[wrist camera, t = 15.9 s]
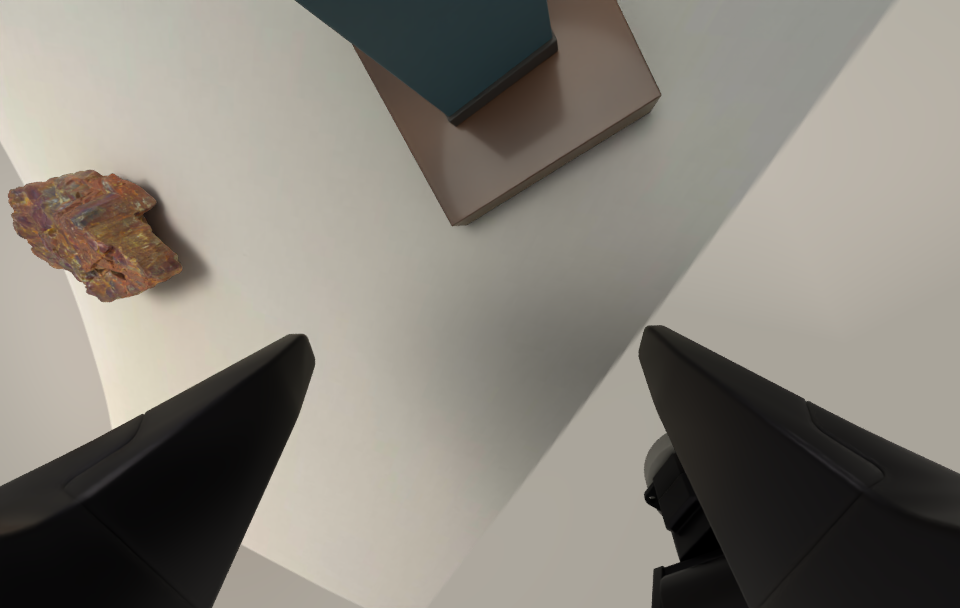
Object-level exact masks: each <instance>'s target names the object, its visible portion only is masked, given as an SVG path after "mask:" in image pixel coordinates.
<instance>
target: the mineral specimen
mask: <svg viewBox="0 0 960 608" xmlns="http://www.w3.org/2000/svg"><path fill="white" fill-rule="evenodd" d="M8 198H9V204H10V205H11V207H12V208H13V209H14V213H12V214H11V216H12V218H13V221H14V222H13V226H14V229H15V231H16V232H17V234H18V235H19V236H20V237H22V238H24V239H27V241H28V243H29V244H30V245H31V246H32V247H33V248H31V250H32V252H33V253H34V254H35V255H36V256H37V257H39V258H41V259H43V260H45V261H46V262H48V263H49V265H50V266H52V267H53V268H56V269H65V270H68V271H70V272H72V274H73V275H74V277H75V278H76V279H77V280H78V281H79V282H83V283H84V284H85V285H86V286H85V287H86V288H87V291H86V293H88V294H90V295H93V296H96V297H97V298H98V299H99V300H100V301H101V302H112V301H114V300H116V299H120V298H125V297H130V296H134V295H138V294H140V293H142V292H143V291H145V290H147V289H148V288H152V287H154V286H155V285H157V284H158V283H160V282H164V281H167V280H168V279H170V278H171V277H172V276H174V275H175V274H179V273H180V272H181V271H182V268H183V267H182V265H181V263H180V262H179V261H178V255H177V254H176V253H174V252H173V251H172V250H171V249H170V248H169V247H168V246H166V245H165V244H164V243H163V242H162V241H161V240H160V239H159V238H158V237H157V236H155V235H154V233H152V232H151V231H152V229H151V226H150V225H148V224H147V222H146V221H147V220H146V219H145V218H144V216H143V215H144V214H143V213H145V212H147V211H148V210H150V209H152V208H153V207H154V206H155V205H156V204H157V201H156V200H155V199H154V198H153V197H152V196H151V195H149V194H148V193H147V192H146V191H145V190H143V189H142V188H141V187H140V186H138V185H136V184H135V183H132V182H130V181H128V180H123V179H121V178H120V177H118V176H116V175H115V174H111V175H109V176H102V175H100V174H99V173H98V172H96V171H94V170H87V171H79V172H76V173H75V174H73V173H70V174H66V175H62V176H61V177H54V178H50V179H49V180H47V181H46V182H34V183H29V184H26V185H25V186H24V187H18V188H16V189H11V190H10V191H9V194H8Z"/></svg>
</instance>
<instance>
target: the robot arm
mask: <svg viewBox="0 0 960 608" xmlns="http://www.w3.org/2000/svg"><path fill="white" fill-rule="evenodd" d="M639 360H640V363H641V366H642V369H643V372H644V375H645V378H646V381H647V384H648V387H649V390H650V393H651V396H652V399H653V402H654V405H655V407H656V410H657V412H658V414H659V416H660V419H661V421H662V423H663V425H664V428H665V429H666V432H667V434H668V436H669V438H670V440H671V442H672V445H673V447H674V449H675V451H676V452H675V453H672V454H671V456H670V457H669V458H668V460H667V461H666V462H665V463H664V465H663V466H662V467H661V468H660V470H659V471H658V472H657V473H656V475H655V476H654V477H653V482H652V483H651V485H650V486H649V487H648V488H647V490H646V491H645V492H644V498H645V501H646V503H647V504H648V505H650V506H652V507H654V508H656V509H657V510H659V511H661V512H662V516H663V519H664V522H665V526H666V528H667V530H669V531H671V532H672V536H673V539H674V543H675V546H676V550H677V553H678V556H679V560H680V562H679V563H676V564H674V565H671V566H668V567H664V566H661V567H658V568H655V569H654V573H653V591H652V608H960V474H959V473H957V472H955V471H952V470H950V469H948V468H946V467H944V466H942V465H940V464H937V463H935V462H933V461H931V460H929V459H926V458H925V457H922V456H920V455H918V454H916V453H914V452H912V451H909V450H907V449H905V448H903V447H901V446H899V445H896V444H894V443H892V442H890V441H888V440H886V439H884V438H882V437H880V436H878V435H875V434H873V433H871V432H869V431H867V430H865V429H863V428H861V427H858V426H856V425H855V424H853V423H850V422H849V421H847V420H845V419H843V418H841V417H839V416H837V415H835V414H833V413H831V412H829V411H827V410H825V409H823V408H821V407H819V406H817V405H815V404H813V403H811V402H810V401H807V402H806V401H805V399H804V398H802V397H800V396H798V395H796V394H794V393H792V392H790V391H788V390H786V389H784V388H782V387H781V386H779V385H777V384H775V383H773V382H771V381H769V380H767V379H765V378H763V377H761V376H759V375H757V374H755V373H754V372H752V371H750V370H747V369H746V368H744V367H742V366H740V365H738V364H736V363H734V362H732V361H730V360H728V359H727V358H725V357H723V356H721V355H719V354H717V353H715V352H713V351H711V350H709V349H707V348H705V347H703V346H701V345H700V344H698V343H696V342H694V341H692V340H690V339H688V338H686V337H684V336H682V335H680V334H678V333H677V332H675V331H672V330H671V329H669V328H667V327H665V326H662V325H657V326H647V327H646V328H645V329H644V332H643V336H642V340H641V344H640V348H639ZM314 367H315V357H314V354H313V351H312V348H311V345H310V343H309V340H308V337H307V336H306V335H304V334H289V335H286V336H285V337H283V338H281V339H279V340H277V341H275V342H274V343H272V344H270V345H268V346H266V347H264V348H263V349H261V350H259V351H257V352H255V353H253V354H252V355H250V356H248V357H246V358H244V359H242V360H241V361H239V362H237V363H235V364H233V365H231V366H230V367H228V368H226V369H224V370H222V371H220V372H218V373H217V374H215V375H213V376H211V377H209V378H207V379H206V380H204V381H202V382H200V383H198V384H196V385H195V386H193V387H191V388H189V389H187V390H185V391H184V392H182V393H180V394H178V395H176V396H174V397H173V398H171V399H169V400H167V401H165V402H163V403H162V404H160V405H158V406H156V407H154V408H152V409H150V410H149V411H147V412H146V413H145V415H144V414H141V415H139V416H137V417H136V418H134V419H132V420H130V421H128V422H126V423H125V424H123V425H121V426H119V427H117V428H115V429H113V430H111V431H110V432H108V433H106V434H104V435H102V436H100V437H98V438H96V439H94V440H93V441H91V442H89V443H87V444H85V445H83V446H81V447H79V448H77V449H75V450H73V451H71V452H69V453H67V454H65V455H63V456H61V457H59V458H57V459H55V460H53V461H51V462H49V463H47V464H45V465H43V466H41V467H39V468H36V469H34V470H33V471H30V472H29V473H26V474H24V475H22V476H20V477H18V478H16V479H14V480H12V481H10V482H8V483H6V484H4V485H2V486H0V608H212V606H213V604H214V602H215V600H216V597H217V595H218V593H219V591H220V589H221V587H222V584H223V582H224V580H225V578H226V575H227V573H228V571H229V569H230V567H231V564H232V562H233V560H234V558H235V556H236V553H237V551H238V549H239V547H240V545H241V542H242V540H243V538H244V536H245V533H246V531H247V529H248V527H249V525H250V522H251V520H252V518H253V516H254V514H255V511H256V509H257V507H258V505H259V503H260V500H261V498H262V496H263V494H264V491H265V489H266V487H267V485H268V483H269V480H270V478H271V476H272V474H273V472H274V469H275V467H276V465H277V463H278V461H279V458H280V456H281V454H282V452H283V449H284V447H285V445H286V443H287V441H288V438H289V436H290V434H291V432H292V430H293V427H294V425H295V423H296V420H297V418H298V416H299V413H300V410H301V407H302V404H303V401H304V398H305V395H306V392H307V389H308V386H309V383H310V380H311V376H312V373H313V370H314ZM650 497H655V498H653V499H651V498H650Z"/></svg>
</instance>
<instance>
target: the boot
mask: <svg viewBox="0 0 960 608" xmlns="http://www.w3.org/2000/svg"><path fill="white" fill-rule="evenodd" d="M295 1H296V2H298V3H299V4H300V5H302V6H303V7H304V8H306V9H307V10H308V11H309V12H311V13H312V14H313V15H315V16H316V17H317V18H319V19H320V20H321V21H323V22H324V23H325V24H327V25H328V26H329V27H331V28H332V29H333V30H335V31H336V32H337V33H339V34H340V35H341V36H343V37H344V38H345V39H346V40H348V41H349V42H350V43H352V44H353V45H354V46H356V47H357V48H358V49H360V50H361V51H362V52H364V53H365V54H366V55H368V56H369V57H370V58H372V59H373V60H374V61H376V62H377V63H378V64H380V65H381V66H382V67H384V68H385V69H386V70H387V71H389V72H390V73H391V74H393V75H394V76H395V77H397V78H398V79H399V80H401V81H402V82H403V83H405V84H406V85H407V86H409V87H410V88H411V89H413V90H414V91H415V92H417V93H418V94H419V95H421V96H422V97H423V98H425V99H426V100H427V101H428V102H430V103H431V104H432V105H434V106H435V107H436V108H438V109H439V110H440V111H442V112H443V113H444V114H445V116H446V118H447V120H448V121H449V122H450V123H451V124H453V125H454V126H455V127H456V126H458V125H459V124H460V123H462V122H463V121H464V120H466V119H467V118H468V117H470V116H471V115H472V114H474V113H475V112H476V111H478V110H479V109H480V108H482V107H483V106H484V105H486V104H487V103H488V102H490V101H491V100H492V99H494V98H495V97H496V96H498V95H499V94H500V93H502V92H503V91H505V90H506V89H507V88H509V87H510V86H511V85H513V84H514V83H515V82H517V81H518V80H519V79H521V78H522V77H523V76H525V75H526V74H527V73H529V72H530V71H531V70H533V69H534V68H535V67H537V66H538V65H539V64H541V63H542V62H543V61H545V60H546V59H547V58H549V57H550V56H551V55H553V54H554V53H555V52H557V51H558V44H557V38H556V36H555V34H554V33H553V31H552V29H551V24H550V17H549V11H548V5H547V0H295Z"/></svg>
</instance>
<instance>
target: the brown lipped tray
mask: <svg viewBox="0 0 960 608" xmlns="http://www.w3.org/2000/svg"><path fill="white" fill-rule="evenodd" d="M547 5H548V11H549V17H550V24H551V29H552V31H553V33H554V34H555V36H556V38H557V44H558V51H557V52H555V53H554V54H553V55H551V56H550V57H549V58H547V59H546V60H545V61H543V62H542V63H541V64H539V65H538V66H537V67H535V68H534V69H533V70H531V71H530V72H529V73H527V74H526V75H525V76H523V77H522V78H521V79H519V80H518V81H517V82H515V83H514V84H513V85H511V86H510V87H509V88H507V89H506V90H505V91H503V92H502V93H500V94H499V95H498V96H496V97H495V98H494V99H492V100H491V101H490V102H488V103H487V104H486V105H484V106H483V107H482V108H480V109H479V110H478V111H476V112H475V113H474V114H472V115H471V116H470V117H468V118H467V119H466V120H464V121H463V122H462V123H460V124H459V125H458V126H456V127H455V126H454V125H453V124H451V123H450V122H449V121H448V120H447V118H446V116H445V114H444V113H443V112H442V111H440V110H439V109H438V108H436V107H435V106H434V105H432V104H431V103H430V102H428V101H427V100H426V99H425V98H423V97H422V96H421V95H419V94H418V93H417V92H415V91H414V90H413V89H411V88H410V87H409V86H407V85H406V84H405V83H403V82H402V81H401V80H399V79H398V78H397V77H395V76H394V75H393V74H391V73H390V72H389V71H387V70H386V69H385V68H384V67H382V66H381V65H380V64H378V63H377V62H376V61H374V60H373V59H372V58H370V57H369V56H368V55H366V54H365V53H364V52H362V51H361V50H360V49H358V48H357V47H356V46H354V45H353V44H352V45H353V47H354V49H355V50H356V52H357V54H358V56H359V58H360V59H361V61H362V63H363V65H364V67H365V69H366V70H367V72H368V74H369V76H370V78H371V80H372V81H373V83H374V85H375V87H376V89H377V90H378V92H379V94H380V96H381V98H382V100H383V101H384V103H385V105H386V107H387V109H388V111H389V112H390V114H391V116H392V118H393V120H394V121H395V123H396V125H397V127H398V129H399V131H400V132H401V134H402V136H403V138H404V140H405V142H406V143H407V145H408V147H409V149H410V151H411V152H412V154H413V156H414V158H415V160H416V162H417V163H418V165H419V167H420V169H421V171H422V172H423V174H424V176H425V178H426V180H427V182H428V183H429V185H430V187H431V189H432V191H433V193H434V194H435V196H436V198H437V200H438V202H439V203H440V205H441V207H442V209H443V211H444V213H445V214H446V216H447V218H448V220H449V222H450V224H451V225H452V226H461V225H468V224H469V223H471V222H472V221H474V220H476V219H477V218H479V217H481V216H482V215H484V214H485V213H487V212H489V211H490V210H492V209H494V208H495V207H497V206H498V205H500V204H502V203H503V202H505V201H506V200H508V199H510V198H511V197H513V196H515V195H516V194H518V193H519V192H521V191H523V190H524V189H526V188H528V187H529V186H531V185H532V184H534V183H536V182H537V181H539V180H541V179H542V178H544V177H545V176H547V175H549V174H550V173H552V172H554V171H555V170H557V169H558V168H560V167H562V166H563V165H565V164H566V163H568V162H570V161H571V160H573V159H575V158H576V157H578V156H579V155H581V154H583V153H584V152H586V151H588V150H589V149H591V148H592V147H594V146H596V145H597V144H599V143H601V142H602V141H604V140H605V139H607V138H609V137H610V136H612V135H614V134H615V133H617V132H618V131H620V130H622V129H623V128H625V127H626V126H628V125H630V124H631V123H633V122H635V121H636V120H638V119H639V118H641V117H643V116H644V115H646V114H648V113H649V112H650V111H651V110H652V109H653V107H654V106H655V104H656V103H657V101H658V100H659V98H660V97H661V92H660V90H659V88H658V86H657V84H656V82H655V80H654V78H653V76H652V74H651V72H650V70H649V67H648V65H647V63H646V61H645V59H644V57H643V55H642V53H641V51H640V49H639V47H638V45H637V42H636V40H635V38H634V36H633V34H632V32H631V30H630V28H629V26H628V24H627V22H626V20H625V17H624V15H623V13H622V11H621V9H620V7H619V5H618V3H617V1H616V0H547Z"/></svg>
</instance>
